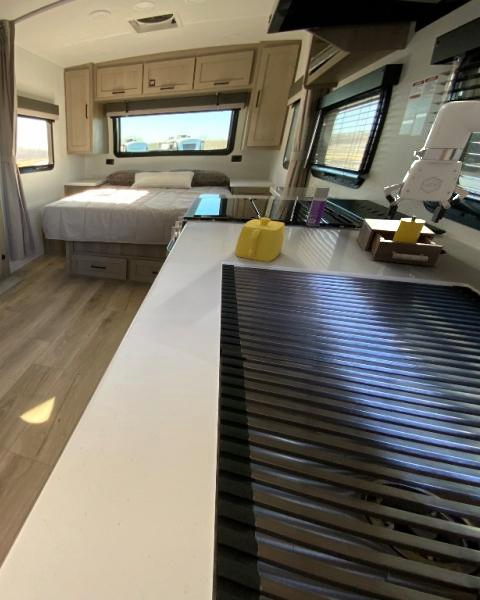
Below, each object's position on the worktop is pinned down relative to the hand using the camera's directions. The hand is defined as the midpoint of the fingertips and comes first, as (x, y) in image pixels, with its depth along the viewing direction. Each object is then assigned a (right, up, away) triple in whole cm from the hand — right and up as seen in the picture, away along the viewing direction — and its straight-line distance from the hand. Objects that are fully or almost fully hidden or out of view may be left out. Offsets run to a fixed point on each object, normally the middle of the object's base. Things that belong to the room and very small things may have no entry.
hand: (411, 220), depth 95 cm
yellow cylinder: (+1, -9, +4) cm, 10 cm away
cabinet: (+7, -6, +14) cm, 17 cm away
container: (+2, +8, +43) cm, 43 cm away
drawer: (0, -10, +4) cm, 11 cm away
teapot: (-36, -7, +15) cm, 40 cm away
